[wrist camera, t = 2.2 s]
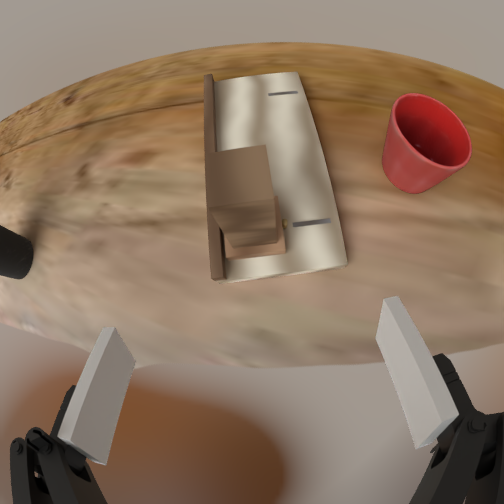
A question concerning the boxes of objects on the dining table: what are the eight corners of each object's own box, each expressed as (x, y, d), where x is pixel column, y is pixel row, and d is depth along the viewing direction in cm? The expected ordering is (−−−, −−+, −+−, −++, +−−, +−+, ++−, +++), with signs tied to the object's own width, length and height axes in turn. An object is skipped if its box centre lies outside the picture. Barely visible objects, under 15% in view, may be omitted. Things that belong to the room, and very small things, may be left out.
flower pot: (355, 166, 33) (374, 118, 24) (394, 125, 35) (415, 81, 25) (416, 221, 31) (454, 187, 22) (448, 172, 32) (481, 136, 23)
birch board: (297, 80, 38) (297, 63, 34) (343, 268, 30) (351, 260, 27) (209, 91, 39) (204, 75, 35) (219, 283, 31) (211, 278, 28)
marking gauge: (283, 200, 31) (283, 133, 19) (291, 252, 29) (297, 206, 18) (224, 208, 31) (195, 147, 20) (228, 260, 30) (196, 220, 18)
